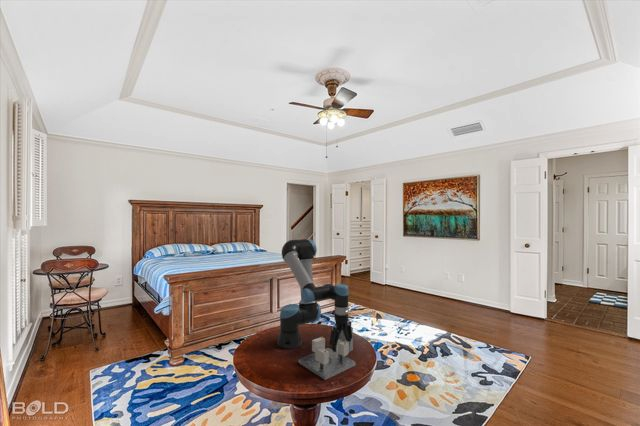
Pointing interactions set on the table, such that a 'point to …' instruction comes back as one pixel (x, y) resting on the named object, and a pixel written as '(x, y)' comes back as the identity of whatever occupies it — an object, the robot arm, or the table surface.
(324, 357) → the knob
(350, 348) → the gray cylinder
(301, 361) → the grey flat square plate
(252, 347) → the table surface
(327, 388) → the table surface
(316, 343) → the knob back
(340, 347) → the knob
